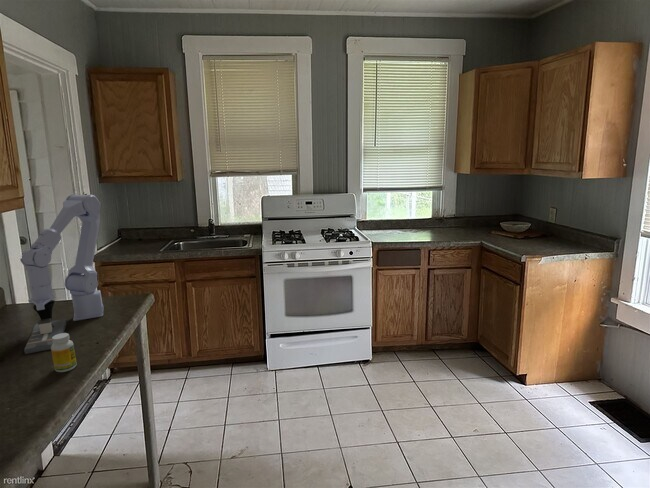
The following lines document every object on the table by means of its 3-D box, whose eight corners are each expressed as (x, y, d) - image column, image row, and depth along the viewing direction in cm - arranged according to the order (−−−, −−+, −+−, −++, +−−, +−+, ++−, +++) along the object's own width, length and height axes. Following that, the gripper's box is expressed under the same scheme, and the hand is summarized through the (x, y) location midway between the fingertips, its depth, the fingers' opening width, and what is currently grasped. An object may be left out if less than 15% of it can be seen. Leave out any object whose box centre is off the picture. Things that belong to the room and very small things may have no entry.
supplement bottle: (55, 366, 123) (50, 334, 120) (77, 361, 125) (72, 330, 123) (53, 374, 118) (47, 341, 116) (76, 369, 120) (70, 337, 118)
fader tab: (53, 329, 144) (51, 318, 143) (52, 332, 141) (50, 320, 140) (41, 331, 142) (38, 320, 141) (39, 334, 140) (37, 322, 139)
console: (66, 322, 154) (65, 315, 153) (59, 347, 134) (58, 339, 134) (36, 327, 150) (35, 320, 149) (25, 354, 131) (23, 345, 130)
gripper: (29, 280, 147) (36, 318, 150) (21, 293, 134) (29, 334, 137) (54, 277, 150) (60, 314, 153) (48, 289, 137) (55, 329, 140)
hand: (47, 323), depth 145 cm, fingers closed
